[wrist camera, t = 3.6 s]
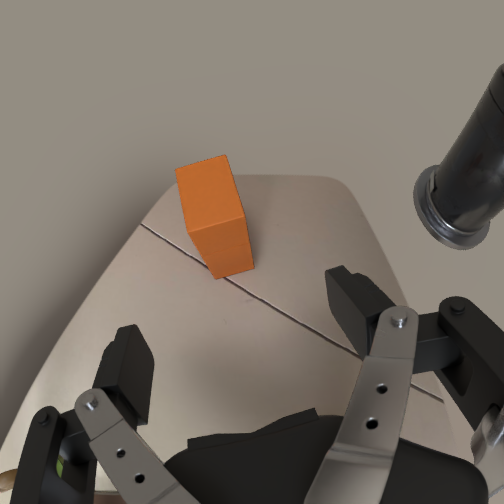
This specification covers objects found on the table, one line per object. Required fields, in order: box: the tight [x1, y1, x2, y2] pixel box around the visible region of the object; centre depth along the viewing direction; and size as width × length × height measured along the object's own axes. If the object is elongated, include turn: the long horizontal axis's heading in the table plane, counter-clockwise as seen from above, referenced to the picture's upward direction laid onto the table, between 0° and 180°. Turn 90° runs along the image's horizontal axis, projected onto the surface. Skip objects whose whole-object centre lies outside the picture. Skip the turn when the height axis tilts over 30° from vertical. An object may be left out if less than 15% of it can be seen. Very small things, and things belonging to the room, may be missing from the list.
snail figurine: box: [0, 460, 63, 493], centre depth 18 cm, size 5×6×12 cm
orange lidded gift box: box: [175, 155, 254, 279], centre depth 27 cm, size 4×6×11 cm
